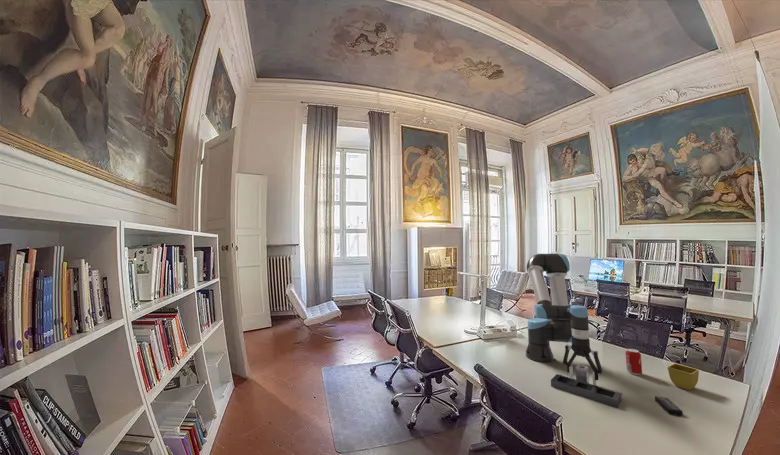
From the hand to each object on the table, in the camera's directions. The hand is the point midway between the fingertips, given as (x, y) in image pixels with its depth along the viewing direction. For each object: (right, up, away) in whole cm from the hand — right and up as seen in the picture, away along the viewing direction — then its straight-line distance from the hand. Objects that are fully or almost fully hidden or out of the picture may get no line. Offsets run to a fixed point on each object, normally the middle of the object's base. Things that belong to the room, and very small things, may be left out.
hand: (582, 382), depth 140 cm
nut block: (0, 0, 0) cm, 0 cm away
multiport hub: (+21, +1, -22) cm, 30 cm away
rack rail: (-5, 0, -9) cm, 10 cm away
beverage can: (+35, -1, +10) cm, 36 cm away
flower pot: (+46, 0, -5) cm, 46 cm away
